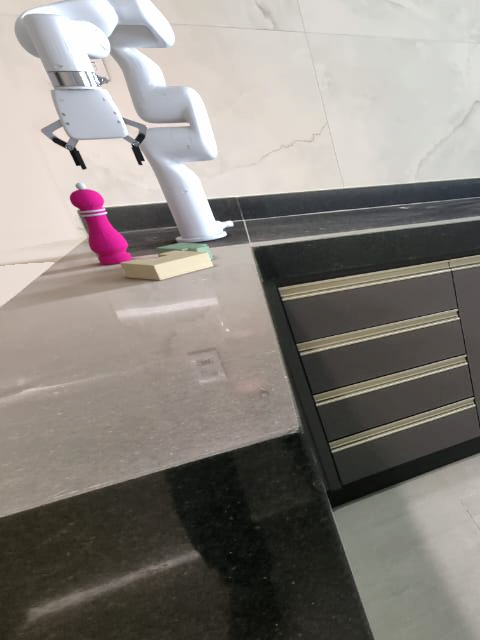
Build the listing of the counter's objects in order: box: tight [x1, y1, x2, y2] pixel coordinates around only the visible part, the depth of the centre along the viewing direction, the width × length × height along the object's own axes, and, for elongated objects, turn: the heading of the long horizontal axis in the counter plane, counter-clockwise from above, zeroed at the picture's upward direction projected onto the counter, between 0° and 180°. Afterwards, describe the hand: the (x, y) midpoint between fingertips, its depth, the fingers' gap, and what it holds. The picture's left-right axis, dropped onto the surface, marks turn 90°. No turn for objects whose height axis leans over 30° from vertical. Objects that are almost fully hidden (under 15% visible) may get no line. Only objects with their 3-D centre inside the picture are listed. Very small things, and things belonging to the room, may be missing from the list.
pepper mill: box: [69, 182, 133, 266], centre depth 135 cm, size 7×7×20 cm
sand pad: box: [119, 250, 214, 281], centre depth 126 cm, size 12×12×4 cm
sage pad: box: [155, 242, 214, 261], centre depth 137 cm, size 6×13×4 cm, turn 71°
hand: (113, 167), depth 120 cm, fingers open, 9 cm apart
